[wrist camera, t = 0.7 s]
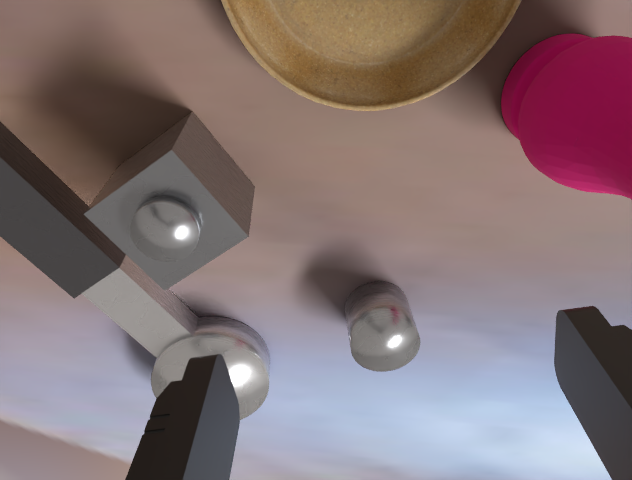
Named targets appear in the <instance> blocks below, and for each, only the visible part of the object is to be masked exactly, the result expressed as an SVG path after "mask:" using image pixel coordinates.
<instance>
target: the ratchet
mask: <svg viewBox="0 0 632 480" xmlns="http://www.w3.org/2000/svg"><path fill="white" fill-rule="evenodd" d="M87 209H88V206H87V205H86V204H85V203H84V202H83V201H82V200H81V199H80V198H79V197H78V196H77V195H76V194H75V193H74V192H73V191H72V190H70V189H69V188H68V187H67V186H66V185H65V184H64V183H63V182H62V181H61V180H60V179H59V178H58V177H57V176H56V175H55V174H54V173H53V172H52V171H51V170H50V169H49V168H48V167H47V166H45V165H44V164H43V163H42V162H41V161H40V160H39V159H38V158H37V157H36V156H35V155H34V154H33V153H32V152H31V151H30V150H29V149H28V148H27V147H26V146H25V145H24V144H23V143H22V142H20V141H19V140H18V139H17V138H16V137H15V136H14V135H13V134H12V133H11V132H10V131H9V130H8V129H7V128H6V127H5V126H4V125H3V124H2V123H1V122H0V236H1V237H2V238H3V239H4V240H5V241H7V242H8V243H9V244H10V245H11V246H13V247H14V248H15V249H16V250H17V251H18V252H20V253H21V254H22V255H23V256H24V257H26V258H27V259H28V260H29V261H30V262H31V263H33V264H34V265H35V266H36V267H37V268H39V269H40V270H41V271H42V272H43V273H45V274H46V275H47V276H48V277H49V278H50V279H52V280H53V281H54V282H55V283H56V284H58V285H59V286H60V287H61V288H62V289H63V290H65V291H66V292H67V293H68V294H69V295H71V296H72V297H73V298H75V297H77V296H78V295H80V294H83V295H84V296H85V297H86V298H87V299H88V300H90V301H91V302H92V303H93V304H94V305H95V306H97V307H98V308H99V309H100V310H101V311H102V312H104V313H105V314H106V315H107V316H108V317H109V318H111V319H112V320H113V321H114V322H115V323H116V324H118V325H119V326H120V327H121V328H122V329H123V330H125V331H126V332H127V333H128V334H129V335H130V336H132V337H133V338H134V339H135V340H136V341H137V342H139V343H140V344H141V345H142V346H143V347H144V348H146V349H147V350H148V351H149V352H150V353H151V354H153V355H154V356H155V357H156V361H155V365H154V368H153V371H152V375H151V386H152V390H153V393H154V395H155V397H156V398H157V397H158V396H159V395H160V394H161V393H162V392H163V390H164V389H165V388H166V387H167V386H168V385H169V383H170V382H171V381H179V380H182V378H183V375H184V372H185V369H186V366H187V363H188V361H189V359H190V358H193V357H200V356H208V355H216V354H221V355H222V356H223V358H224V360H225V363H226V366H227V369H228V372H229V375H230V378H231V381H232V384H233V387H234V390H235V393H236V396H237V399H238V403H239V411H240V420H241V419H243V418H246V417H248V416H249V415H251V414H252V413H254V412H255V411H256V410H257V409H258V408H259V407H260V406H261V405H262V404H263V402H264V401H265V399H266V396H267V393H268V389H269V369H270V355H269V351H268V348H267V346H266V344H265V342H264V340H263V339H262V338H261V337H260V335H259V334H258V333H257V332H255V331H254V330H253V329H252V328H250V327H249V326H247V325H245V324H243V323H241V322H239V321H236V320H233V319H229V318H224V317H216V316H207V317H197V316H196V315H195V314H194V313H193V312H192V311H191V310H190V309H189V308H188V307H187V306H186V305H185V304H184V303H183V302H182V301H181V300H179V299H178V298H177V297H176V296H175V295H174V294H173V293H172V292H171V291H170V290H169V289H166V290H165V291H164V290H163V289H162V288H161V287H160V286H159V285H158V284H157V283H156V282H155V281H154V280H152V279H151V278H150V277H149V276H148V275H147V274H146V273H145V272H144V271H143V270H142V269H141V268H140V267H139V266H138V265H137V264H136V263H135V262H133V261H132V260H131V259H130V258H129V257H128V256H127V255H126V254H125V253H124V252H123V251H122V250H121V249H120V248H119V247H118V246H117V245H116V244H114V243H113V242H112V241H111V240H110V239H109V238H108V237H107V236H106V235H105V234H104V233H103V232H102V231H101V230H100V229H99V228H98V227H96V226H95V225H94V224H93V223H92V222H91V221H90V220H89V219H88V218H87V217H86V216H85V215H84V213H85V211H86V210H87Z"/></svg>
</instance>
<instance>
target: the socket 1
mask: <svg viewBox="0 0 632 480" xmlns="http://www.w3.org/2000/svg"><path fill="white" fill-rule="evenodd" d="M254 189H255V186H254V185H253V184H252V183H251V182H250V180H249V179H248V178H247V177H246V175H245V174H244V173H243V172H242V171H241V169H240V168H239V167H238V166H237V165H236V163H235V162H234V161H233V160H232V159H231V157H230V156H229V155H228V154H227V153H226V151H225V150H224V149H223V148H222V147H221V145H220V144H219V143H218V142H217V140H216V139H215V138H214V137H213V136H212V134H211V133H210V132H209V131H208V130H207V128H206V127H205V126H204V125H203V124H202V122H201V121H200V120H199V119H198V118H197V116H196V115H195V114H194V113H193V111H192V112H191V113H189V114H188V115H187V116H185V117H184V118H183V119H181V120H180V121H179V122H177V123H176V124H175V125H173V126H172V127H171V128H169V129H168V130H167V131H165V132H164V133H163V134H161V135H160V136H159V137H157V138H156V139H155V140H153V141H152V142H151V143H149V144H148V145H146V146H145V147H144V148H142V149H141V150H140V151H138V152H137V153H136V154H134V155H133V156H132V157H130V158H129V159H128V160H126V161H125V162H124V163H122V164H121V165H120V166H118V168H117V169H116V170H115V172H114V173H113V175H112V176H111V177H110V179H109V180H108V181H107V183H106V184H105V185H104V187H103V188H102V190H101V191H100V192H99V194H98V195H97V196H96V198H95V199H94V201H93V202H92V203H91V205H90V206H89V207H88V209H87V210H86V211H85V213H84V215H85V216H86V217H87V218H88V219H89V220H90V221H91V222H92V223H93V224H94V225H95V226H96V227H98V228H99V229H100V230H101V231H102V232H103V233H104V234H105V235H106V236H107V237H108V238H109V239H110V240H111V241H112V242H113V243H114V244H116V245H117V246H118V247H119V248H120V249H121V250H122V251H123V252H124V253H125V254H126V255H127V256H128V257H129V258H130V259H131V260H132V261H133V262H135V263H136V264H137V265H138V266H139V267H140V268H141V269H142V270H143V271H144V272H145V273H146V274H147V275H148V276H149V277H150V278H151V279H152V280H154V281H155V282H156V283H157V284H158V285H159V286H160V287H161V288H162V289H163V290H164V291H165V290H166V289H168V288H169V287H171V286H173V285H174V284H176V283H177V282H179V281H180V280H182V279H183V278H185V277H187V276H188V275H190V274H191V273H193V272H194V271H196V270H197V269H199V268H201V267H202V266H204V265H205V264H207V263H208V262H210V261H211V260H213V259H215V258H216V257H218V256H219V255H221V254H222V253H224V252H225V251H227V250H228V249H230V248H232V247H233V246H235V245H236V244H238V243H239V242H241V241H242V240H244V239H246V238H247V237H249V229H250V221H251V213H252V205H253V197H254Z"/></svg>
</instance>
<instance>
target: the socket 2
mask: <svg viewBox="0 0 632 480" xmlns="http://www.w3.org/2000/svg"><path fill="white" fill-rule="evenodd" d="M345 315H346V321H347V328H348V334H349V340H350V347H351V353H352V356H353V358H354V359H355V361H356V362H357V363H358V364H359V365H361V366H362V367H364V368H366V369H369V370H373V371H381V372H382V371H391V370H395V369H398V368H400V367H403V366H404V365H406V364H407V363H409V362H410V361H411V360H412V359H413V358H414V357H415V356H416V354H417V352H418V350H419V347H420V337H419V334H418V331H417V328H416V325H415V322H414V319H413V316H412V313H411V310H410V307H409V304H408V301H407V298H406V295H405V294H404V292H403V291H402V290H401V289H400V288H399V287H397V286H396V285H394V284H392V283H388V282H382V281H375V282H370V283H366V284H364V285H362V286H360V287H358V288H357V289H355V290H354V291H353V292H352V293H351V294H350V295H349V297H348V299H347V301H346V303H345Z"/></svg>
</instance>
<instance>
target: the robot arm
mask: <svg viewBox="0 0 632 480" xmlns="http://www.w3.org/2000/svg"><path fill="white" fill-rule="evenodd" d="M554 364H555V371H556V376H557V379H558V382H559V385H560V387H561V389H562V391H563V393H564V394H565V396H566V398H567V400H568V402H569V403H570V405H571V407H572V409H573V411H574V412H575V414H576V416H577V418H578V419H579V421H580V423H581V425H582V427H583V428H584V430H585V432H586V434H587V436H588V437H589V439H590V441H591V443H592V444H593V446H594V448H595V450H596V452H597V453H598V455H599V457H600V459H601V461H602V462H603V464H604V466H605V468H606V469H607V471H608V473H609V475H610V477H611V478H612V480H632V330H631V329H629V328H628V327H626V326H624V325H619V326H611V325H610V324H609V323H608V321H607V320H606V319H605V318H604V316H603V315H602V314H601V313H600V311H599V310H598V309H597V308H596V307H594V306H589V307H581V308H574V309H566V310H560V311H558V313H557V317H556V335H555V357H554ZM239 422H240V411H239V403H238V399H237V396H236V393H235V390H234V387H233V384H232V381H231V378H230V375H229V372H228V369H227V366H226V363H225V360H224V358H223V356H222V355H221V354H216V355H208V356H200V357H193V358H190V359H189V361H188V363H187V366H186V369H185V372H184V375H183V378H182V380H179V381H171V382H170V383H169V385H168V386H167V387H166V388H165V389H164V390H163V392H162V393H161V394H160V395H159V396H158V397H157V399H156V402H155V404H154V407H153V410H152V412H151V415H150V420H148V422H147V425H146V428H145V430H144V432H145V433H144V435H142V438H141V441H140V443H139V446H138V448H137V451H136V453H135V456H134V459H133V461H132V464H131V466H130V469H129V472H128V475H127V477H126V479H125V480H229V478H230V472H231V467H232V462H233V456H234V451H235V445H236V440H237V435H238V429H239Z"/></svg>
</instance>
